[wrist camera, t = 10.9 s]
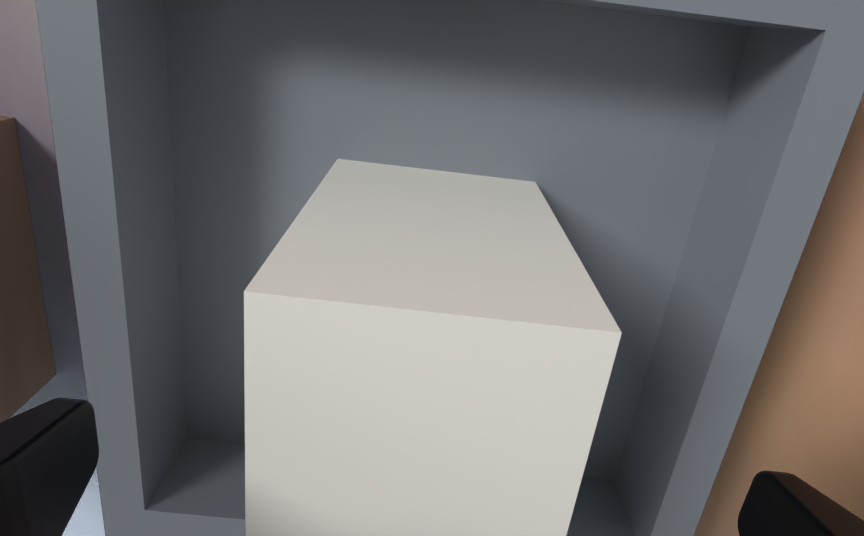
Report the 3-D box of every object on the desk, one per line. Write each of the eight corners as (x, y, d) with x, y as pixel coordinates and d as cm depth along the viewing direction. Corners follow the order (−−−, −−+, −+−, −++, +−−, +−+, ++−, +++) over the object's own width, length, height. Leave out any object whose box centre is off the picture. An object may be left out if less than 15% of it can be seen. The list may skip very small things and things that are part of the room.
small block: (327, 333, 15) (245, 568, 9) (337, 158, 13) (243, 291, 7) (503, 351, 15) (549, 596, 9) (535, 182, 14) (621, 332, 7)
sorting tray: (162, 448, 17) (105, 537, 14) (120, -108, 12) (16, -148, 9) (634, 495, 18) (671, 590, 15) (799, -20, 12) (910, -29, 10)
